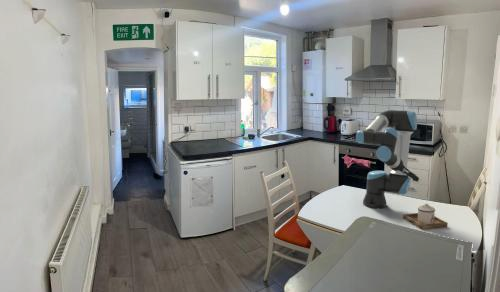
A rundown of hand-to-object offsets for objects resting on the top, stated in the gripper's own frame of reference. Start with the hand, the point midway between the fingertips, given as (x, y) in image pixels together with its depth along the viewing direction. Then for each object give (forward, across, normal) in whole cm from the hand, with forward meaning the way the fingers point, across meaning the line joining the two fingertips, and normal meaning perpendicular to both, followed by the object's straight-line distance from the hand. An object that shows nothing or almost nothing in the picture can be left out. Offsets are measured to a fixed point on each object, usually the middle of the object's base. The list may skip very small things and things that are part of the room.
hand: (409, 175), depth 213 cm
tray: (+15, +18, -17) cm, 29 cm away
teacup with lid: (+14, +19, -17) cm, 29 cm away
